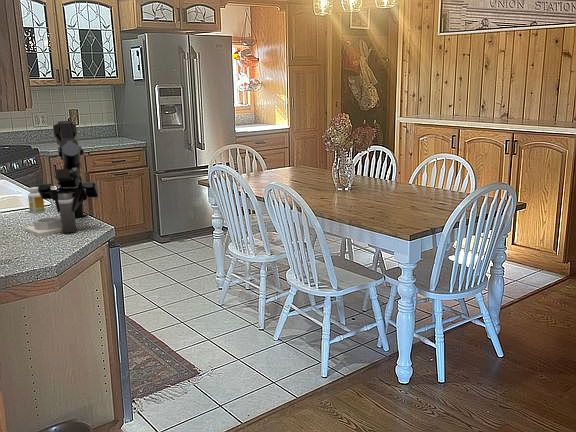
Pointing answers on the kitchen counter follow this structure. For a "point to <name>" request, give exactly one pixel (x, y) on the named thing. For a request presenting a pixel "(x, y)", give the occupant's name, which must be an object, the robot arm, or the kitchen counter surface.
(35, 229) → the collar mount
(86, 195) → the robot arm
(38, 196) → the supplement bottle
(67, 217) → the dark grey capped cylinder
